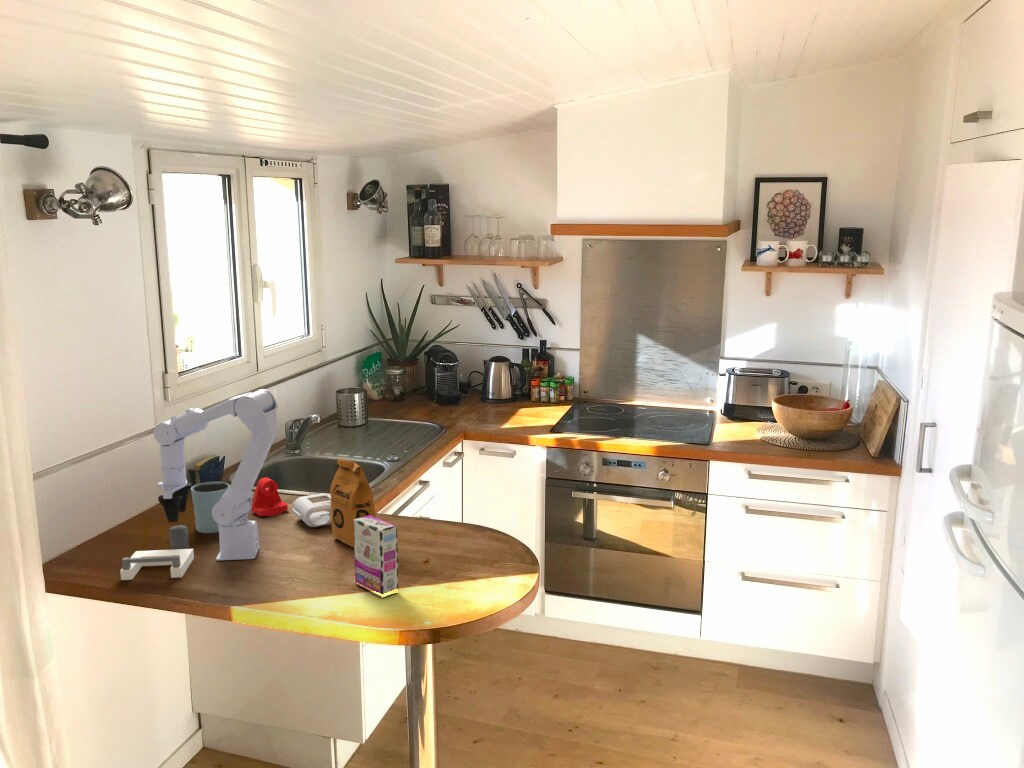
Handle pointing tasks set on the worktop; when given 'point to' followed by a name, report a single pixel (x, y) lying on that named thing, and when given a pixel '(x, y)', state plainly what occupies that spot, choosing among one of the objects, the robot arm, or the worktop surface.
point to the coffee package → (349, 500)
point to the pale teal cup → (207, 504)
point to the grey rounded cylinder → (178, 537)
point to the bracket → (267, 499)
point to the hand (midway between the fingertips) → (177, 516)
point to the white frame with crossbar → (157, 561)
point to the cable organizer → (306, 509)
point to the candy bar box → (376, 554)
